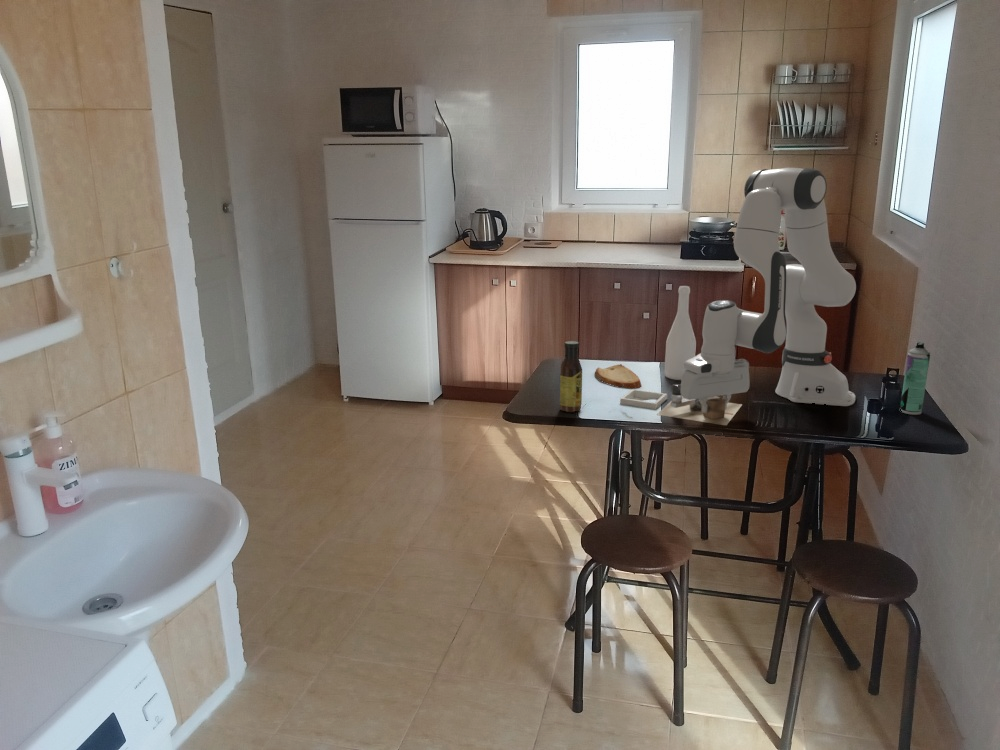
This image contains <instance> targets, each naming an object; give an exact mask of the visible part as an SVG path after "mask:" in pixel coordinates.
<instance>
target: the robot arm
mask: <svg viewBox="0 0 1000 750" xmlns="http://www.w3.org/2000/svg"><path fill="white" fill-rule="evenodd" d="M827 186H828V185H827V180H826V177H825V176H824V175H823V173H822V172H821V171H820V170H818V169H815V168H810V167H806V168H799V167H783V168H780V167H779V168H772V169H766V168H764V169H760V170H756V171H753V172H752V173H751V174H750V175H749V177H748V178H747V180H746V181H745V184H744V188H743V189H744V190H743V191H744V192H743V194H744V201H743V203H742V206H741V209H740V210H739V211H740V212H739V215H738V219H737V222H736V227H735V231H734V238H733V248H734V252H735V254H736V256H737V257H738V258H739V259H740V261H742V262H743V263H744V264H746V265H748V266H749V267H751V268H753V269H754V270H756V271H757V272H758V273H759V274H761V276H762V277H763V280H764V284H765V285H764V305H763V307H764V310H763V313H760V312H755V311H749V310H744V309H741V308H739V307H737V304H736V302H734V301H733V300H727V299H722V300H714V301H711V302H710V303H708V304H707V305H706V308H705V312H704V317H703V321H702V333H701V335H702V339H703V341H702V345H701V348H700V353H698V354H697V355H695V357H693V358H691V359H689V360H687V361H685V362H684V368H685V369H687V370H686V371H684V373H683V375H682V380H680V381H681V382H680V384H681V395H682V396H683V397H684V398H686V399H688V400H693V399H699V401H700V403H701V405H702V412H704V413H707V412H710V406H708V405H707V404H706V401H707V400H708V397H714V396H717V397H722V399H724V400H726V401H725V410H726V408H727V403H730V400H731V398H732V395H735V394H740V393H741V394H742V393H747V392H748V390H749V389H750V386H751V385H750V383H751V382H750V372H749V369H750V363H749V361H748V360H746V359H745V358H739V359H738V358H737V359H736V347H735V346H739V347H743V348H747V349H753V350H754V351H758V352H762V353H764V354H771V353H773V352H775V351H777V350H778V349H779V348H781V347H782V346H783V345H784V344H785V346H784V348H783V350H782V356H781V364H782V368H781V373H780V377H779V381H778V383H777V386H776V388H775V390H774V391H775V394H777V395H778V396H780V397H783V398H785V399H788V400H790V401H791V402H792V403H804V404H812V403H815V405H824V404H826V406H827V405H828V406H840V407H849V406H852V405H854V404H855V402H856V395H855V393H854V392H852V391H850V390H849V383H848V379H847V377H846V375H845V374H843V373H842V372H841V371H840V369H839V370H838V369H837V368H836V367H835V366H834V365H833V364H832V362H831V361H832V360H833V358H832V352H831V351H830V352H829V351H827V350H826V343H827V333H828V325H827V323H826V322H825V320H824V319H823V318H821V316H819V314H818V312H817V311H816V307H815V306H821V307H827V308H830V307H831V308H832V307H833V308H834V307H844V306H846V305H848V304H850V302H851V301H852V299H853V298H854V296H856V295H855V294H856V290H857V284H856V280H855V278H854V276H853V274H851V273H850V272H848V271H847V270H846V269H845V268H844V267H843V266H842V265H841V263H840V262H839V261H838V259H837V257H836V255H835V254H834V251H833V248H832V246H831V245H832V244H831V241H830V236H829V235H830V233H829V225H828V215H827V208H826V202H825V196H826V194H827ZM782 211H784V226H785V235H786V236H785V237H786V245H787V251H788V252H789V254H790V255H791V256H792V257H793V258H795V259H796V260H797V261H798V262H799V263H800V264H799V263H790V264H787V261H786V257H785V256H784V255H783V254H782V253H781V251H780V247H779V235H780V231H781V229H780V228H781V222H782Z"/></svg>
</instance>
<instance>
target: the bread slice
mask: <svg viewBox="0 0 1000 750" xmlns="http://www.w3.org/2000/svg"><path fill="white" fill-rule="evenodd" d="M594 377H595V378H596V379H597V378H598V379H599V380H600V381H599V380H598V379H597V380H598V381H599V382H601V381H603V382H602V383H604V382H605V383H608V384H611V385H610V386H612V385H614V386H613V387H615V386H618V387H617V388H621V387H624V388H623V389H641V388H642V383H641V379H640V378H639V376H638V375H637V374H636V373H635V372H634V371H633V370H631V369H629V368H628V367H626V366H625V365H623V364H616V365H615V364H614V365H612V366H609V367H605V368H601V367H597V368H596V369H595V371H594ZM608 384H607V385H608ZM640 387H641V388H640Z"/></svg>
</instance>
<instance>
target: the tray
mask: <svg viewBox="0 0 1000 750" xmlns="http://www.w3.org/2000/svg"><path fill="white" fill-rule="evenodd" d="M648 400H649V401H648ZM651 400H655V401H654V402H651ZM666 400H668V393H663V392H658V391H657V392H656V391H650V390H649V391H648V390H643V389H642V390H641V389H637V388H631V390H630V391H628V392H626V394H623V396H622V397H620V401H619V402H620V403H619V404H621V405H627V406H634V407H640V408H646V409H647V408H648V409H653V410H657V408H659V407H660V406H661V405H662V404H663V403H664V402H665V401H666Z"/></svg>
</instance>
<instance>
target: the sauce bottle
mask: <svg viewBox="0 0 1000 750" xmlns="http://www.w3.org/2000/svg"><path fill="white" fill-rule="evenodd" d="M579 348H580V343H579V341H574V340H568V341H565V342H564V359H563V361H561V364H560V375H559V376H560V377H559V379H560V380H559V408H560V410H561V411H562V412H564V411H566V412H565V413H576V412H575V411H577V412H579V411H581V409H582V398H583V397H582V396H583V368H582V364H581V361H580V359H579Z"/></svg>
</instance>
